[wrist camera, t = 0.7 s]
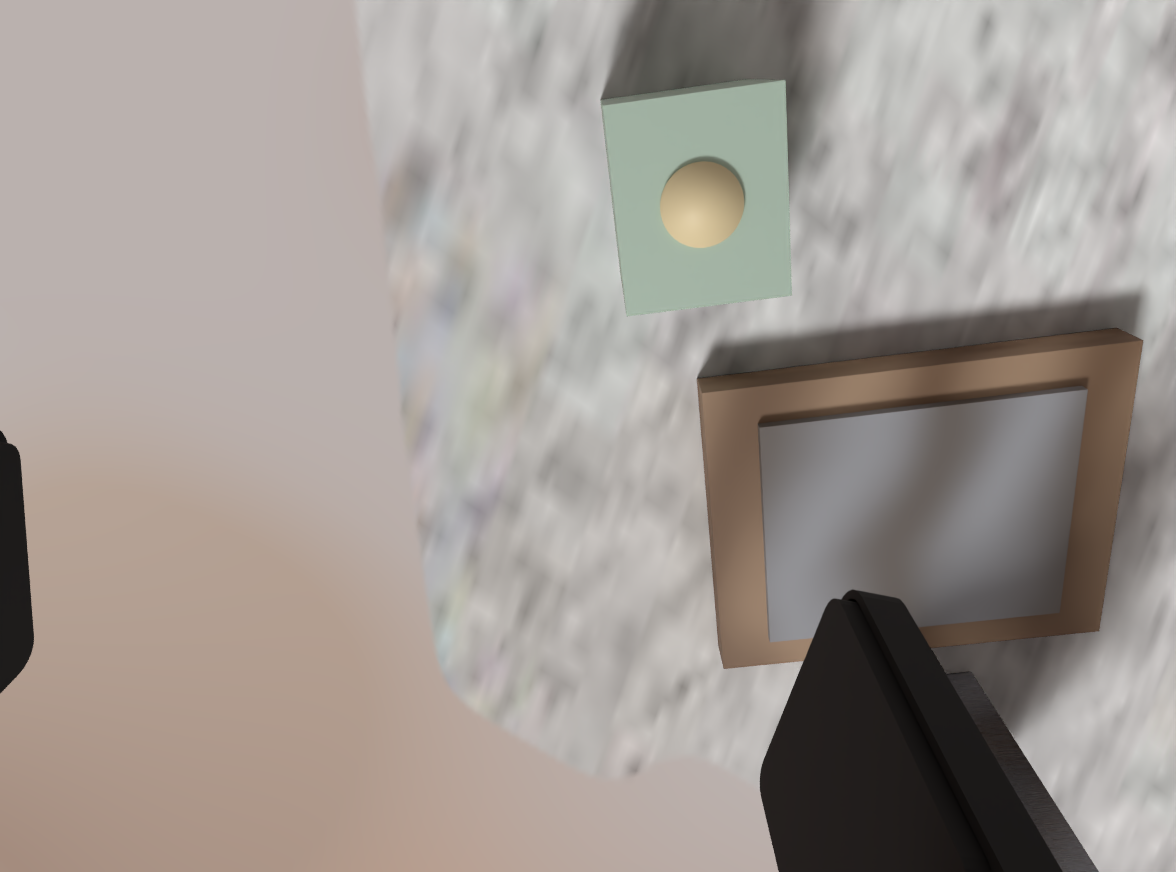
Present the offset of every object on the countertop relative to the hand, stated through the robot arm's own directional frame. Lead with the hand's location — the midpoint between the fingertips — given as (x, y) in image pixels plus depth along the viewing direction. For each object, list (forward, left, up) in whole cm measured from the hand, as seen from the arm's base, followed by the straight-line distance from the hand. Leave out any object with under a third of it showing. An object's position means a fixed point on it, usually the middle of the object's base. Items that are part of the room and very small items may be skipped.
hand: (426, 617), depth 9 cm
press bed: (-13, +12, -22) cm, 29 cm away
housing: (-5, -2, -22) cm, 23 cm away
